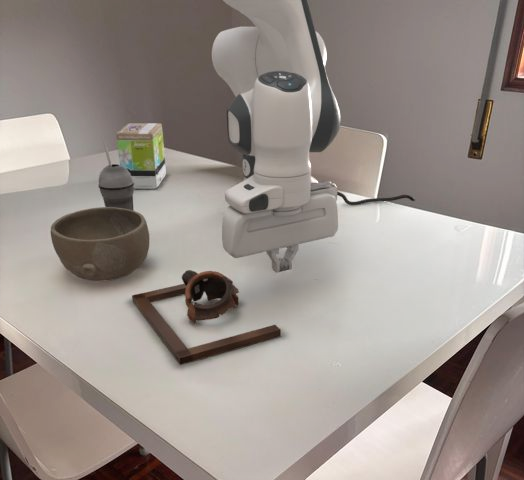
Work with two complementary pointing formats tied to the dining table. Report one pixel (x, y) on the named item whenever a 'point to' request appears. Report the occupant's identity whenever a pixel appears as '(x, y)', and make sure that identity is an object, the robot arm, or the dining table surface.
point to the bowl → (101, 242)
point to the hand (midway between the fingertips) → (281, 269)
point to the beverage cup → (116, 185)
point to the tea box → (142, 153)
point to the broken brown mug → (208, 294)
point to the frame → (173, 340)
